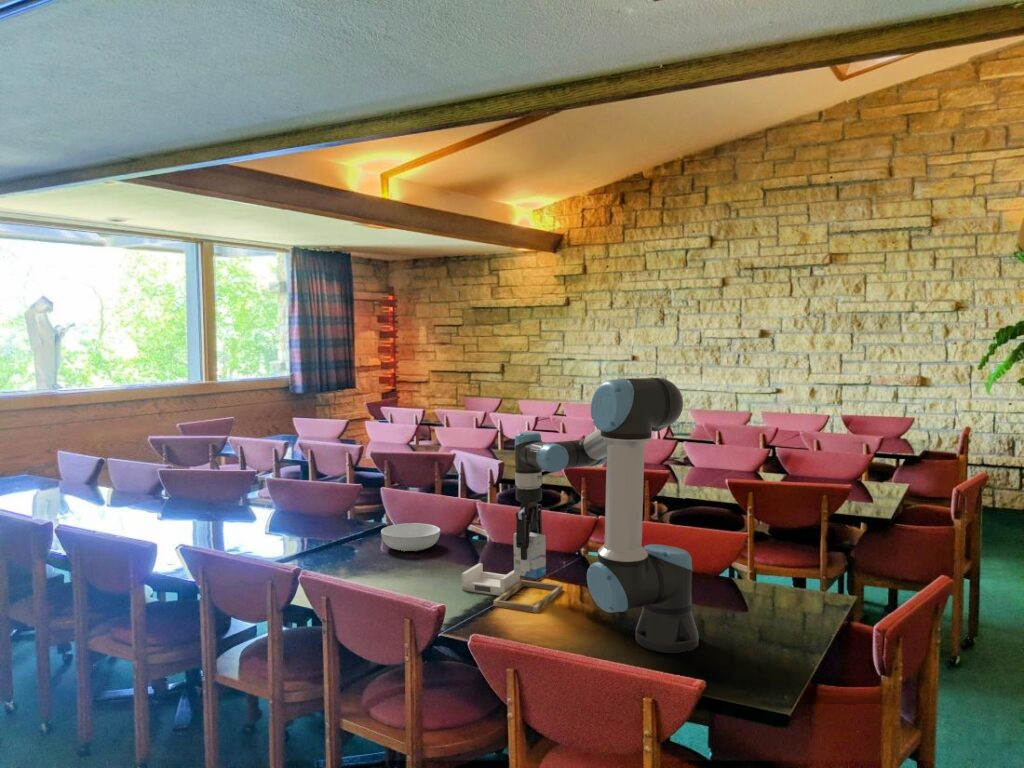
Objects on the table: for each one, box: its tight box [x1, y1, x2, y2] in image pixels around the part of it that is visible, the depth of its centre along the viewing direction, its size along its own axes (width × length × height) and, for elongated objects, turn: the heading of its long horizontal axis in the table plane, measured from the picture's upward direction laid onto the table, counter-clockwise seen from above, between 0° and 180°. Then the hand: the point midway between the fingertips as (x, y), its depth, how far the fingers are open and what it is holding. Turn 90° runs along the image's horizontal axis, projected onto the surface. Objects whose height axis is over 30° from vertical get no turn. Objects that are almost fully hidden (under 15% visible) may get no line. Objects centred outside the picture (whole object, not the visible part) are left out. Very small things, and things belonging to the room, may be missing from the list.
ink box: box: [513, 532, 547, 580], centre depth 213 cm, size 9×5×12 cm, turn 49°
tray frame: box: [492, 579, 564, 614], centre depth 215 cm, size 20×13×2 cm, turn 156°
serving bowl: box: [380, 522, 441, 552], centre depth 267 cm, size 21×21×7 cm
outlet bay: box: [461, 562, 521, 597], centre depth 224 cm, size 12×14×5 cm
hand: (530, 567), depth 214 cm, fingers closed on ink box, 6 cm apart
